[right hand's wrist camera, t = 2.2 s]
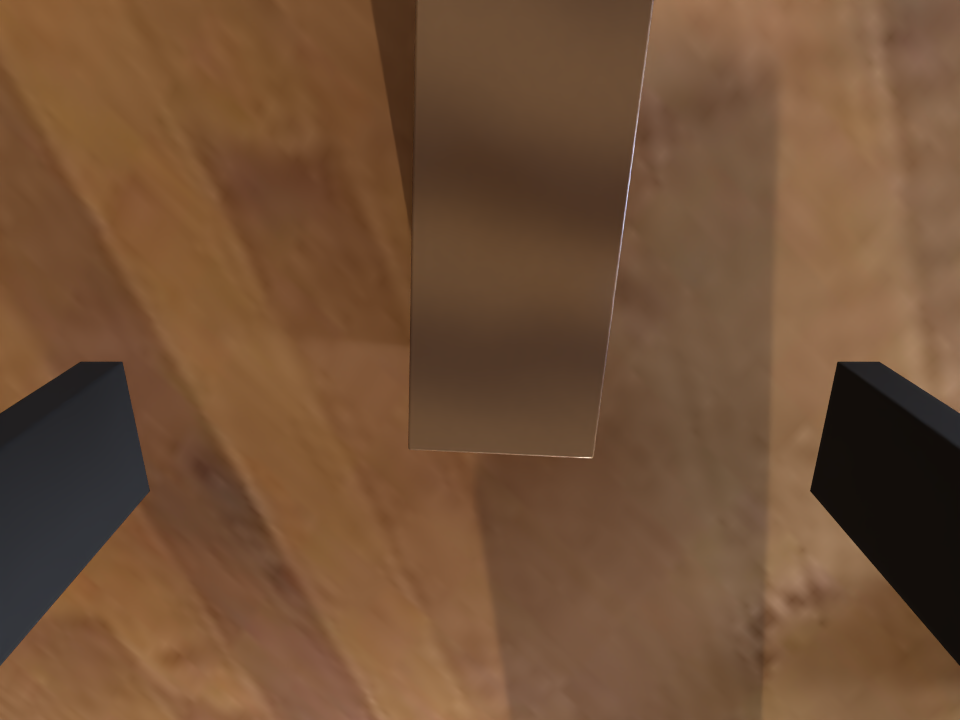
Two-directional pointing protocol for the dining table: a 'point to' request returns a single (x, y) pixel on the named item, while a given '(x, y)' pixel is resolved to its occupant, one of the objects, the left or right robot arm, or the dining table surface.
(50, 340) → the dining table surface
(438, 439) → the bar
